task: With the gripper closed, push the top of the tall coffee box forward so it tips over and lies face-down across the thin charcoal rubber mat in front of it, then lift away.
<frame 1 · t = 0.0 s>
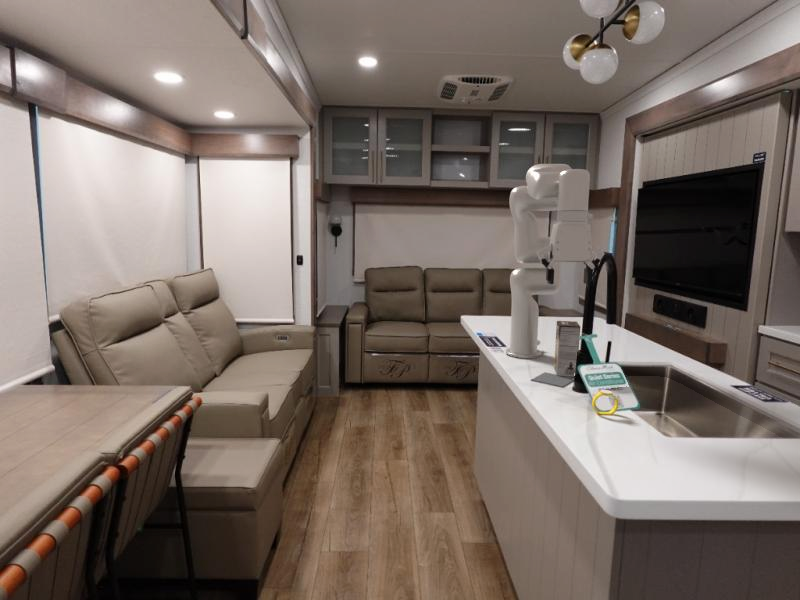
hand: (568, 283, 131), 31 cm above the table, tool pointing down, fingers open, 9 cm apart
mat: (553, 380, 151), on the table
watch: (604, 414, 124), on the table
coffee box: (565, 373, 157), on the table, touching mat
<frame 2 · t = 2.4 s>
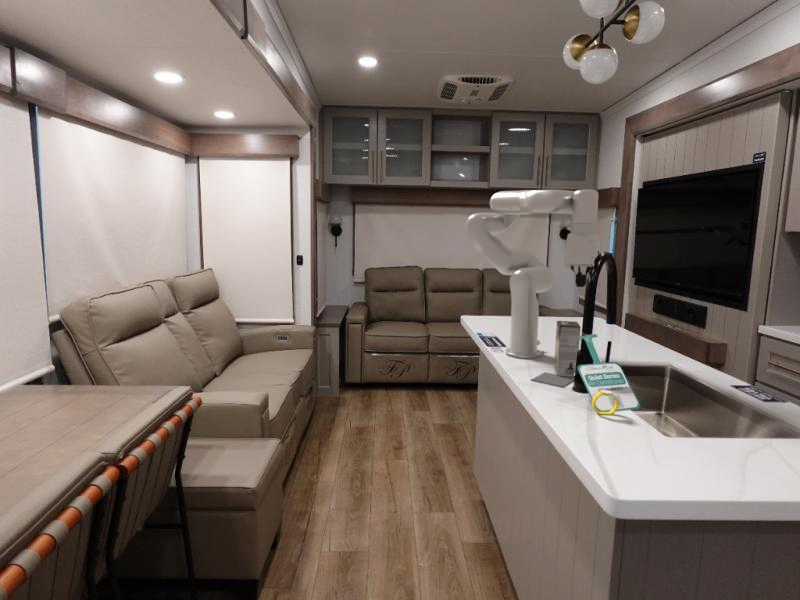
hand: (580, 286, 160), 27 cm above the table, tool pointing down, fingers closed
nothing on the table moved.
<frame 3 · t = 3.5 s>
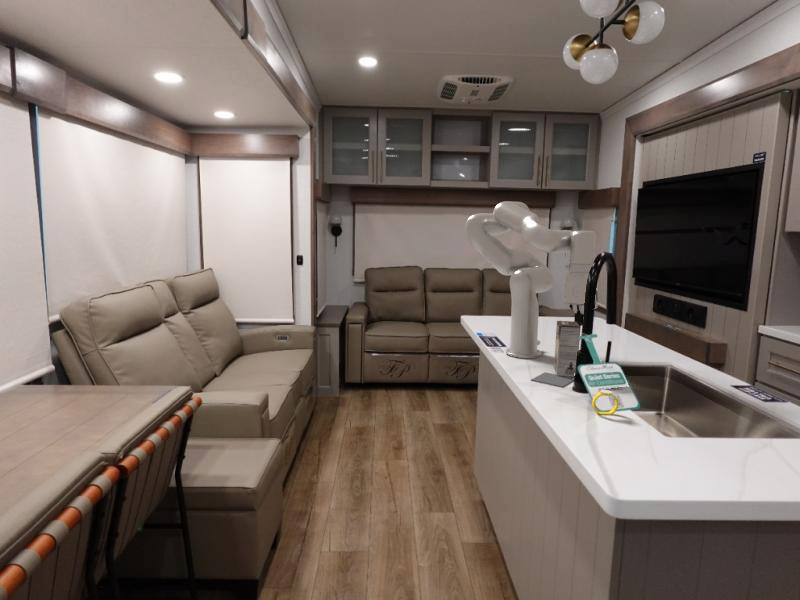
hand: (579, 325, 162), 14 cm above the table, tool pointing down, fingers closed
nothing on the table moved.
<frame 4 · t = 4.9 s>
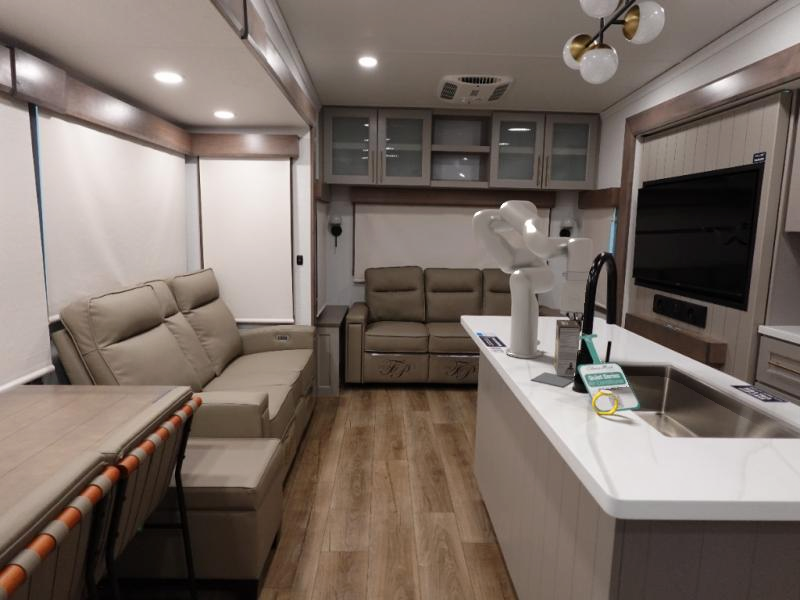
hand: (576, 333, 160), 12 cm above the table, tool pointing down, fingers closed
coffee box: (565, 372, 157), on the table, touching gripper, mat
everything else where it was.
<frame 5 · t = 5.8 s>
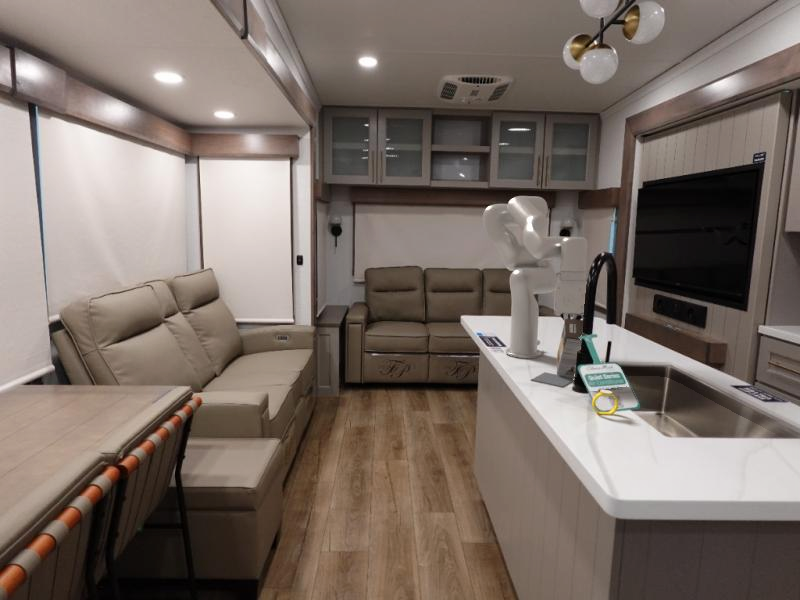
hand: (570, 335, 156), 12 cm above the table, tool pointing down, fingers closed
coffee box: (566, 367, 156), point 2 cm above the table, touching gripper, mat
everything else where it was.
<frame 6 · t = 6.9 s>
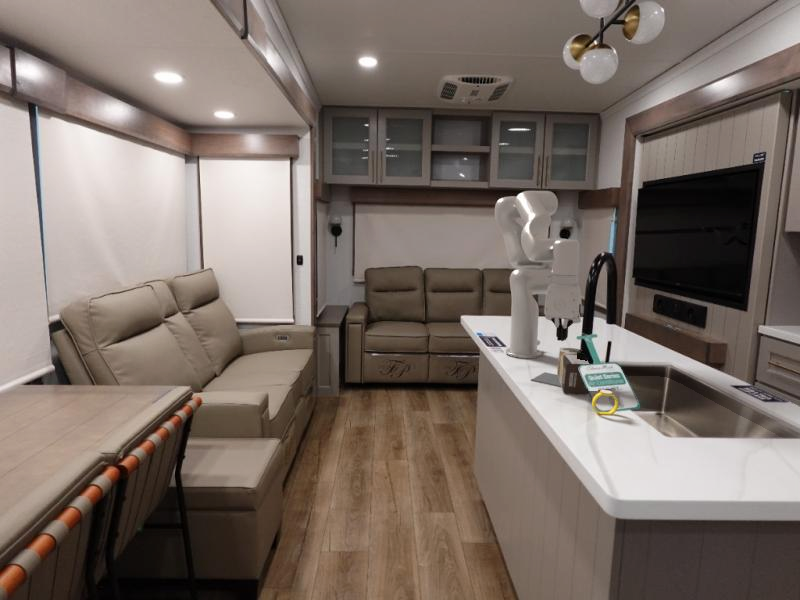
hand: (561, 339, 152), 12 cm above the table, tool pointing down, fingers closed
coffee box: (568, 362, 152), point 5 cm above the table, touching mat
everything else where it was.
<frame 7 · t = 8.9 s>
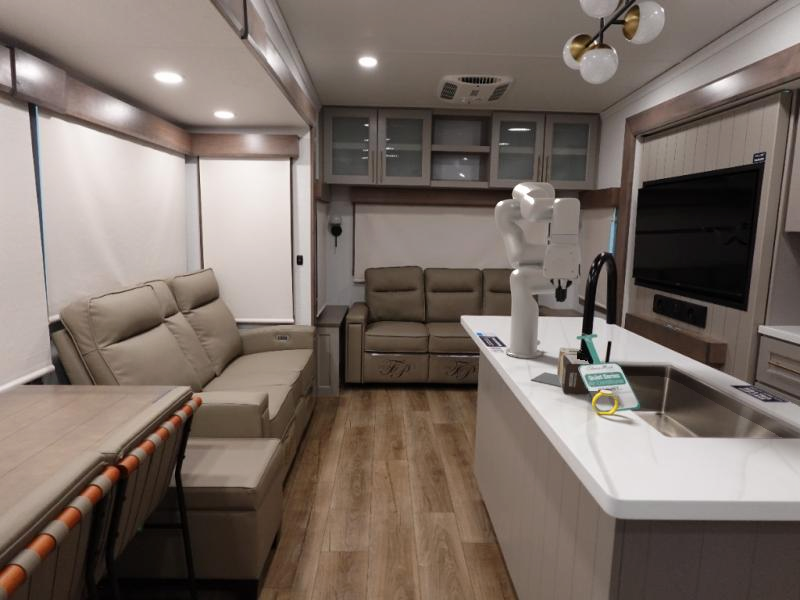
hand: (560, 301, 150), 24 cm above the table, tool pointing down, fingers closed
nothing on the table moved.
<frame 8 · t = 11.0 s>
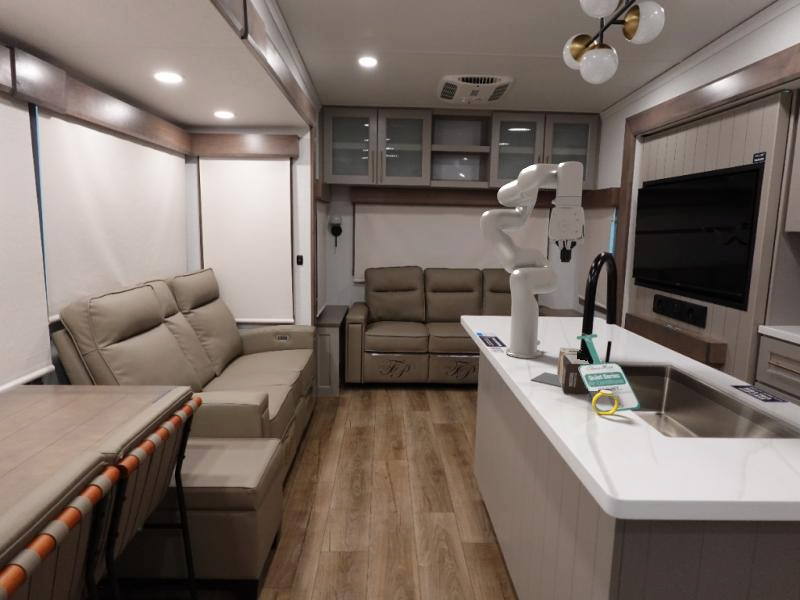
hand: (565, 262, 156), 35 cm above the table, tool pointing down, fingers closed
nothing on the table moved.
at the end: coffee box tilted 91°; coffee box touching mat, table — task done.
